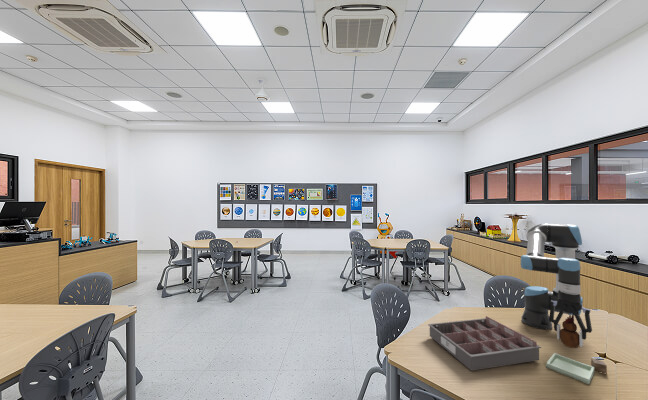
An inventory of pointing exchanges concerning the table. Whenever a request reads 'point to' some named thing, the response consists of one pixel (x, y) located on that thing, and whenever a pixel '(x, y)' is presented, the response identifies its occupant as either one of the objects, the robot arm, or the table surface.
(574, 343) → the wooden figurine
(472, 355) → the organizer tray
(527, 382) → the table surface
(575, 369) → the green tray
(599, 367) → the walnut cube
